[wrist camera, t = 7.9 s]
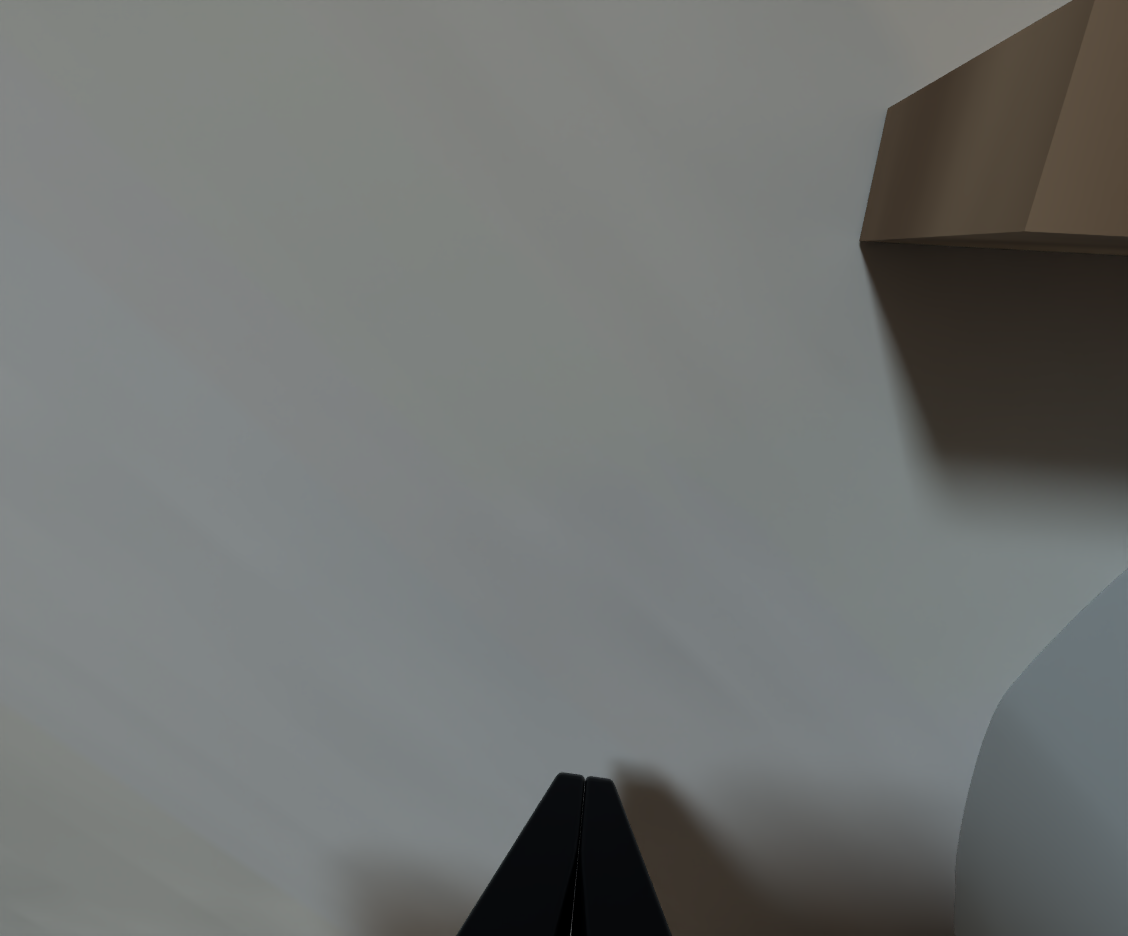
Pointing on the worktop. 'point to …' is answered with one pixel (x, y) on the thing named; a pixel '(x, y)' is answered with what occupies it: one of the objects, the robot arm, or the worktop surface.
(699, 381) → the worktop surface
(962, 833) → the lumpy-topped squat cylinder
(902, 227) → the bay
